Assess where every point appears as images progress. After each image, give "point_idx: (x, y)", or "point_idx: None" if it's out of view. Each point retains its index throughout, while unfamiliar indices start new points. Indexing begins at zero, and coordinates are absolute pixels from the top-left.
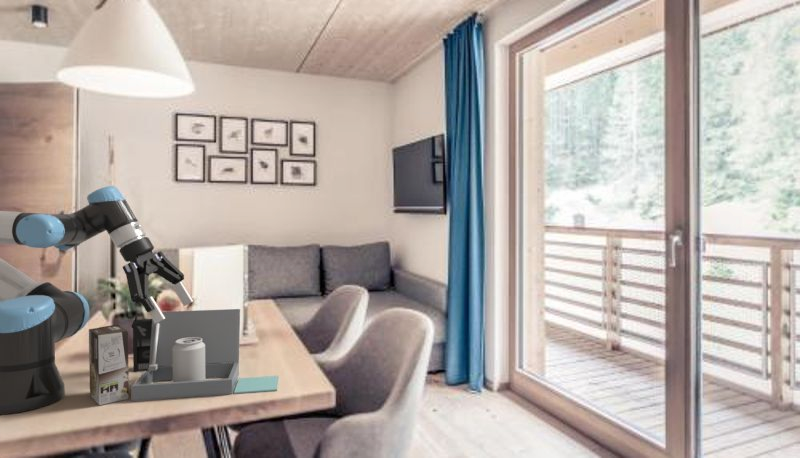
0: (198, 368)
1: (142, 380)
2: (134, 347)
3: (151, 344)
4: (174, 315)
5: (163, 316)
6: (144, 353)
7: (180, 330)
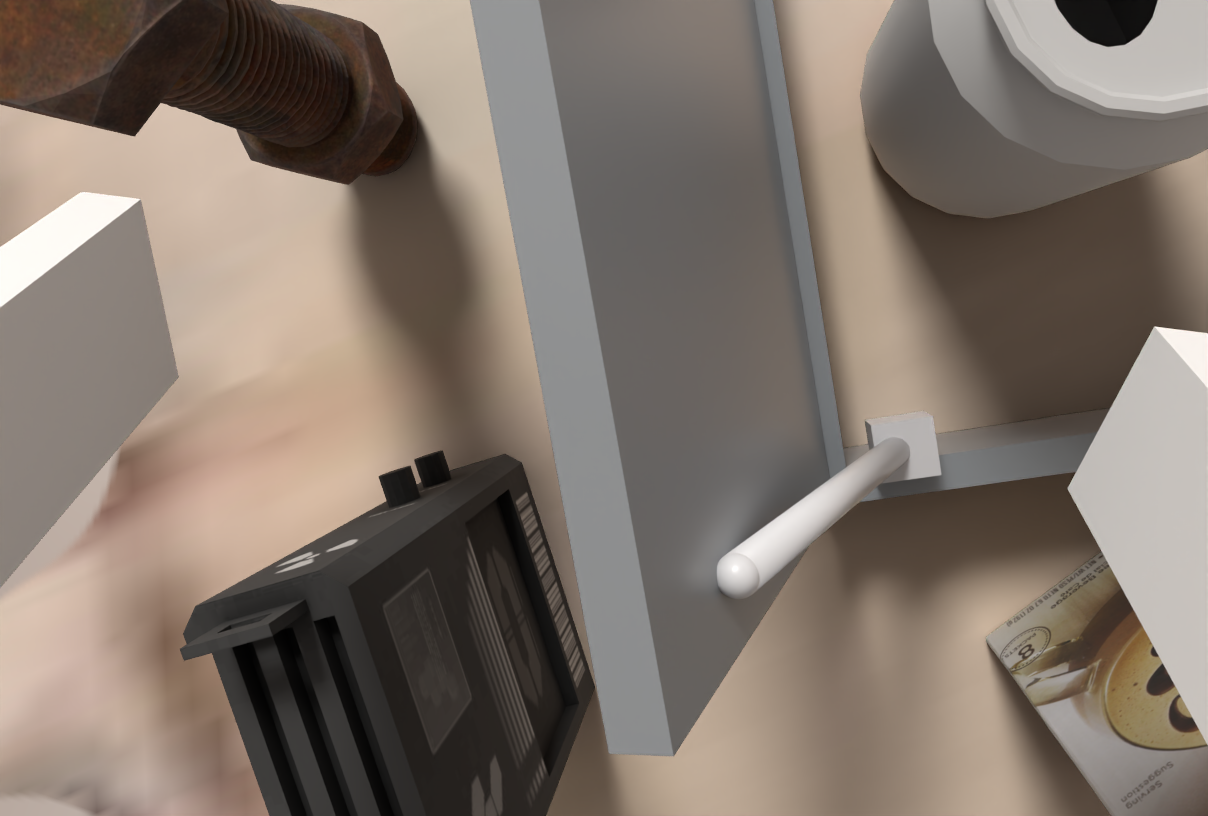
0: None
1: None
2: (552, 793)
3: (793, 559)
4: (638, 365)
5: (1195, 357)
6: (530, 685)
7: (699, 254)
